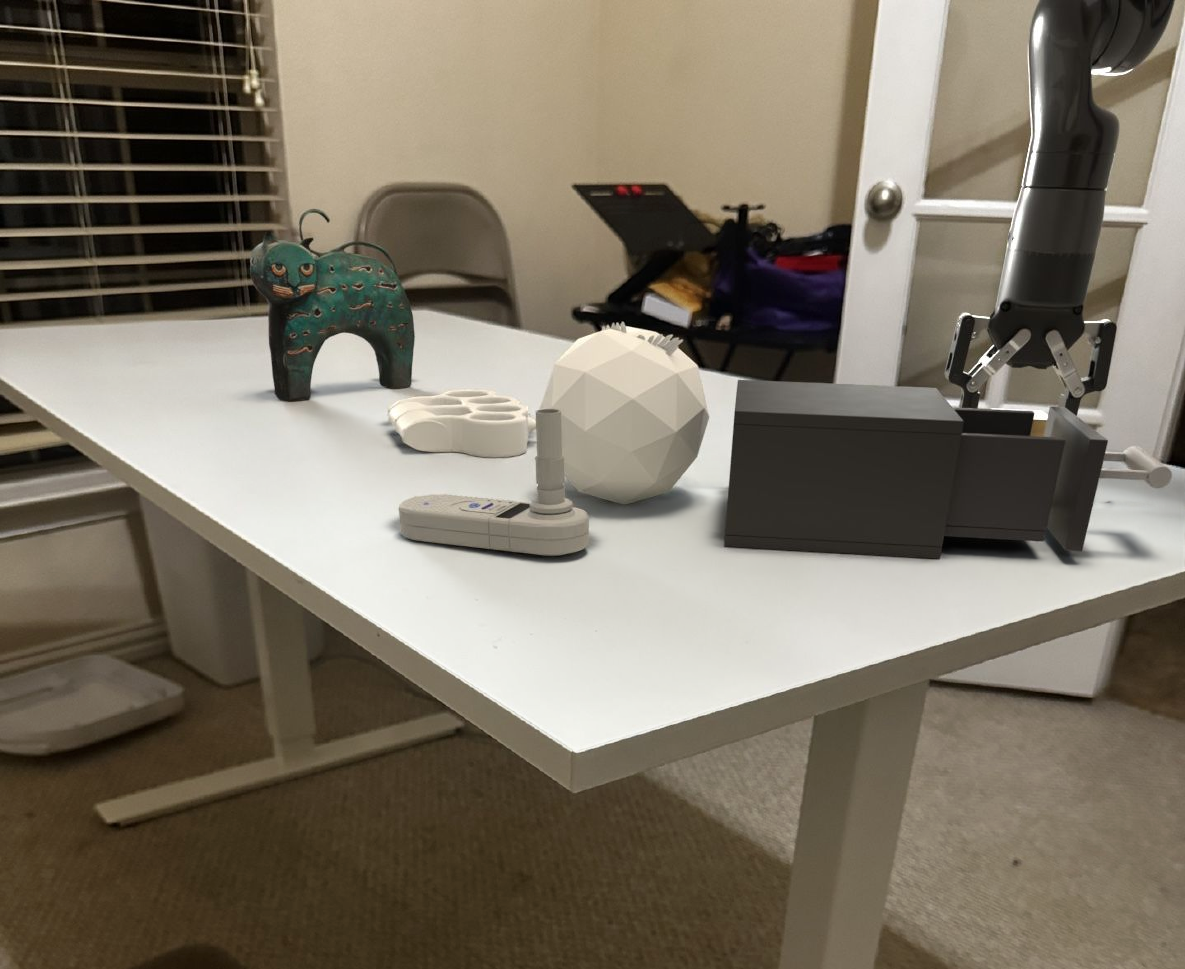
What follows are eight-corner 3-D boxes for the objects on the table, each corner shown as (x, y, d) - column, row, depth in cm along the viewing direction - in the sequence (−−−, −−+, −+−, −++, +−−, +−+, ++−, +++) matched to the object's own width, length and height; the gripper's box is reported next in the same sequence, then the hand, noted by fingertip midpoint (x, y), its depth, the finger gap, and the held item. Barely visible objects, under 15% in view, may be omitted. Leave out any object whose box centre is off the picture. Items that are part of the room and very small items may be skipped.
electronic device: (413, 395, 84) (598, 406, 79) (424, 525, 89) (600, 544, 84) (374, 407, 80) (568, 420, 75) (388, 543, 84) (571, 564, 79)
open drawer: (1117, 510, 92) (1142, 410, 88) (1165, 556, 81) (1196, 444, 77) (863, 497, 94) (876, 399, 90) (877, 540, 83) (893, 430, 79)
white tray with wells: (384, 424, 121) (517, 419, 125) (409, 462, 106) (559, 454, 110) (382, 391, 120) (516, 387, 123) (407, 425, 104) (559, 419, 108)
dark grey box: (917, 509, 95) (936, 387, 90) (940, 558, 83) (964, 420, 78) (728, 500, 96) (737, 379, 91) (724, 546, 84) (734, 410, 79)
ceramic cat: (280, 404, 130) (259, 209, 120) (254, 396, 134) (231, 207, 124) (424, 388, 141) (415, 209, 132) (396, 381, 146) (385, 207, 136)
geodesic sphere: (775, 424, 95) (688, 270, 93) (715, 456, 84) (614, 282, 81) (642, 512, 104) (559, 374, 102) (571, 552, 93) (477, 398, 90)
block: (1032, 462, 111) (1042, 410, 109) (1043, 474, 107) (1054, 420, 104) (980, 460, 112) (989, 408, 109) (989, 472, 107) (999, 417, 105)
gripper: (977, 245, 97) (942, 438, 105) (1148, 252, 96) (1100, 447, 104) (962, 240, 103) (931, 422, 111) (1122, 247, 102) (1079, 430, 110)
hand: (1012, 434), depth 108 cm, fingers open, 8 cm apart
